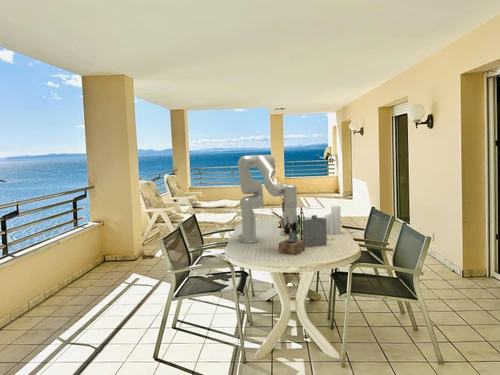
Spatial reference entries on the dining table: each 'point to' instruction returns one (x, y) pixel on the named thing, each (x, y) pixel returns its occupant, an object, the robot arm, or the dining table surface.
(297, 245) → the wooden square hole block
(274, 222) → the dining table surface
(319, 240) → the hip flask
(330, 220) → the vase
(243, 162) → the robot arm
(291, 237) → the grey metal rod
